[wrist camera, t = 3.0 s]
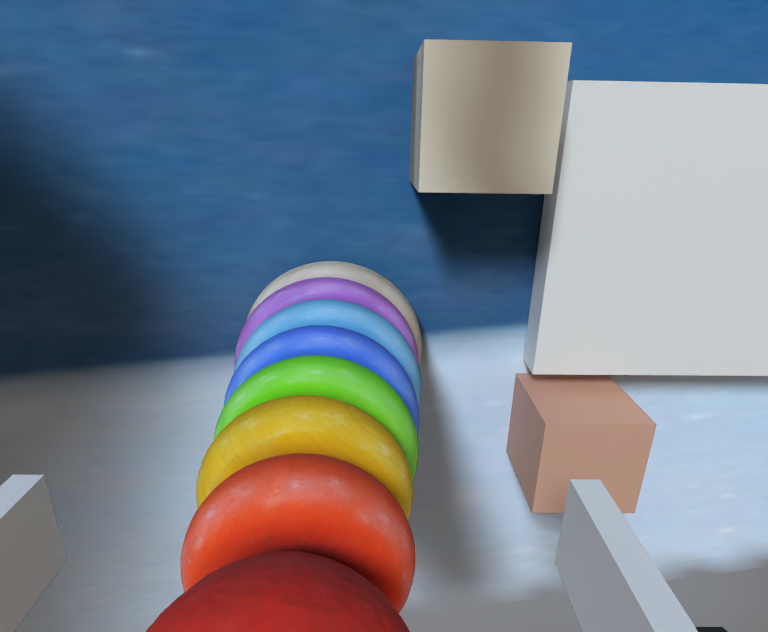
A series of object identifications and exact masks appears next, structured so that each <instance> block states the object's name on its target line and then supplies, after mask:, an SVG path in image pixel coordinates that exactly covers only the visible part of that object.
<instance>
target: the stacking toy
mask: <svg viewBox="0 0 768 632" xmlns="http://www.w3.org/2000/svg"><path fill="white" fill-rule="evenodd" d="M421 355H422V338H421V331H420V327H419V323H418V320H417V317H416V315H415V313H414V310H413V309H412V307H411V305H410V304H409V302H408V301H407V299H406V298H405V297H404V295H403V294H402V293H401V292H400V291H399V290H398V289H397V288H396V287H395V286H394V285H393V284H392V283H391V282H390V281H388V280H387V279H386V278H384V277H383V276H381V275H380V274H378V273H376V272H374V271H372V270H370V269H367V268H365V267H362V266H359V265H356V264H352V263H347V262H338V261H323V262H314V263H310V264H306V265H302V266H299V267H296V268H294V269H291V270H289V271H288V272H286V273H284V274H282V275H280V276H279V277H278V278H276V279H275V280H274V281H273V282H271V283H270V284H269V285H268V286H267V287H266V288H265V289H264V290H263V291H262V293H261V294H260V295H259V297H258V298H257V300H256V301H255V303H254V304H253V306H252V308H251V310H250V312H249V314H248V317H247V320H246V322H245V324H244V326H243V328H242V330H241V333H240V336H239V338H238V342H237V346H236V351H235V369H234V375H233V376H232V378H231V381H230V383H229V386H228V389H227V392H226V395H225V401H224V408H223V410H222V413H221V415H220V417H219V420H218V422H217V425H216V429H215V435H214V441H213V442H212V444H211V445H210V447H209V449H208V450H207V452H206V454H205V457H204V459H203V461H202V464H201V467H200V470H199V474H198V479H197V491H196V496H197V507H198V510H197V511H196V513H195V515H194V517H193V519H192V520H191V522H190V525H189V528H188V530H187V533H186V535H185V539H184V543H183V548H182V552H181V577H182V584H183V588H184V591H185V593H183V594H182V595H181V596H180V597H178V598H177V599H176V600H175V601H174V602H173V603H172V604H171V605H169V606H168V607H167V608H166V609H165V610H164V611H163V612H162V613H161V614H160V615H159V617H158V618H157V619H156V620H155V622H154V623H153V624H152V625H151V626H150V627H149V628H148V629H147V631H146V632H410V631H409V630H408V628H407V626H406V624H405V622H404V621H403V619H402V618H401V616H400V615H399V613H400V611H401V610H402V608H403V606H404V604H405V602H406V600H407V598H408V595H409V592H410V589H411V586H412V582H413V577H414V571H415V545H414V540H413V535H412V531H411V529H410V526H409V523H408V521H409V518H410V514H411V509H412V502H413V486H412V482H413V480H414V476H415V473H416V469H417V463H418V450H419V449H418V437H417V434H418V429H419V404H420V398H421V376H420V371H419V366H420V362H421Z"/></svg>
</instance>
